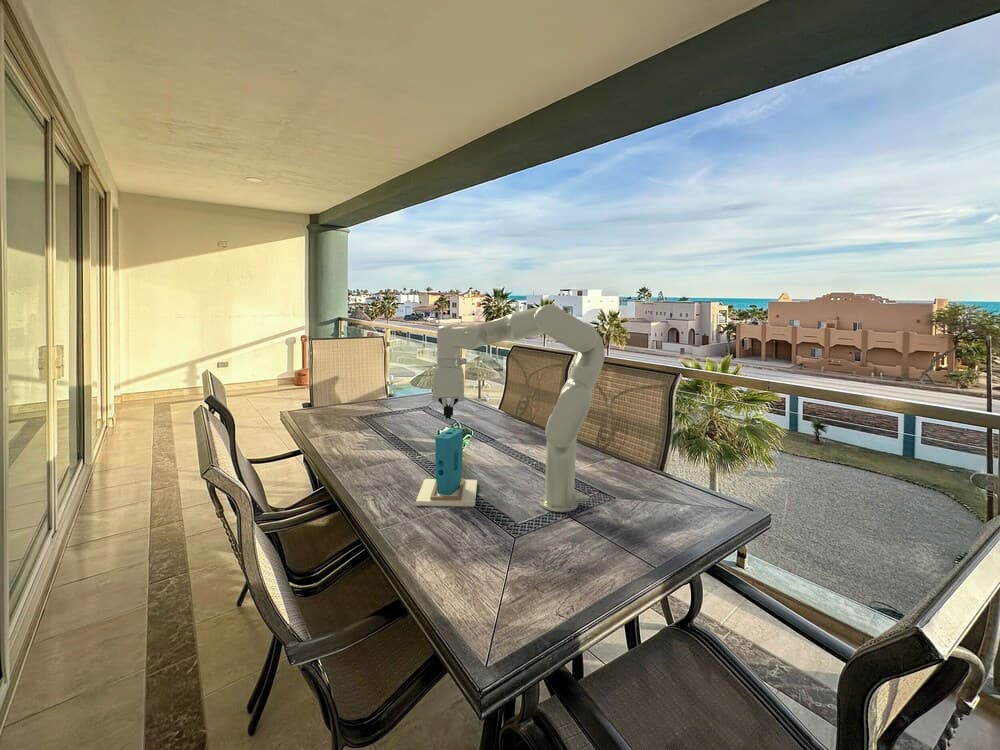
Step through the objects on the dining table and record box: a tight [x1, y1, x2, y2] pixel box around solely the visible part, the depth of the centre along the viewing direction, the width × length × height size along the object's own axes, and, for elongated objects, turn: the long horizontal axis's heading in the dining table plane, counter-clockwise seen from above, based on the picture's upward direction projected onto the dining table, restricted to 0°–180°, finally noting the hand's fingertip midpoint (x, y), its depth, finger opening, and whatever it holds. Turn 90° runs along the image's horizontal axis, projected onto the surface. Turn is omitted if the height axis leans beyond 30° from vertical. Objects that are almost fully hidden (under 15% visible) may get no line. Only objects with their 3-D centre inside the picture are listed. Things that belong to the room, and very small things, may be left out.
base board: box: [415, 477, 478, 507], centre depth 157 cm, size 19×19×2 cm
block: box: [434, 428, 464, 495], centre depth 156 cm, size 12×5×20 cm, turn 160°
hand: (448, 417), depth 154 cm, fingers closed
